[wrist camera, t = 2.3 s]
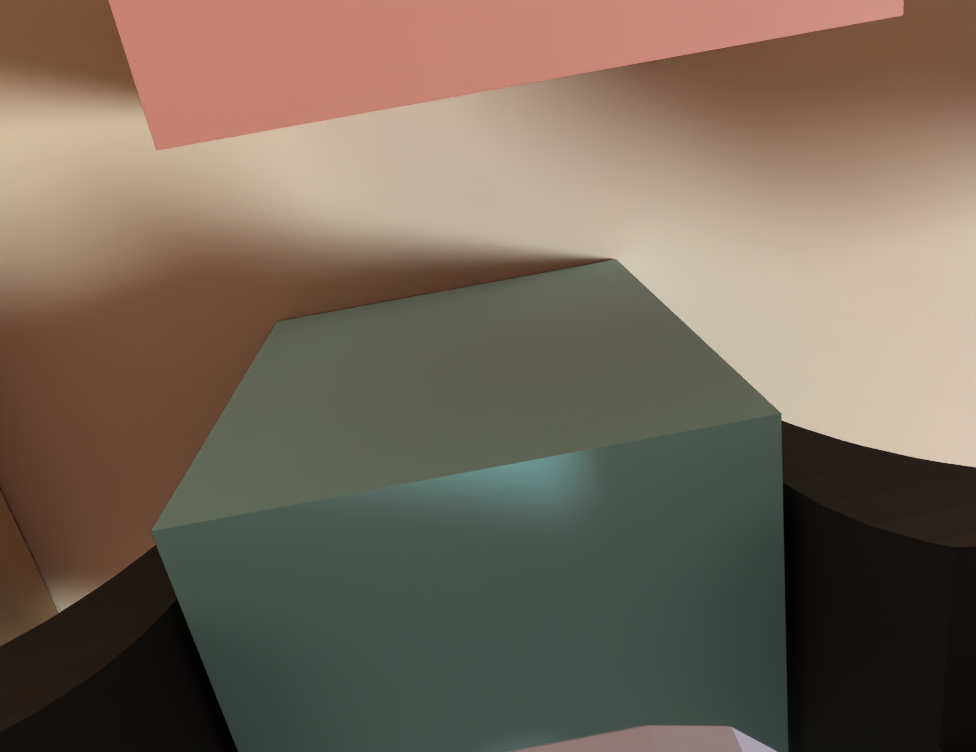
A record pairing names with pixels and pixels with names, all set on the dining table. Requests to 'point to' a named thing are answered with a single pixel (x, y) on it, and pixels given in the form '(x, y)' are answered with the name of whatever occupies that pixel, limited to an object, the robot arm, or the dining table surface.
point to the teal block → (486, 527)
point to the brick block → (412, 50)
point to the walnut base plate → (19, 583)
